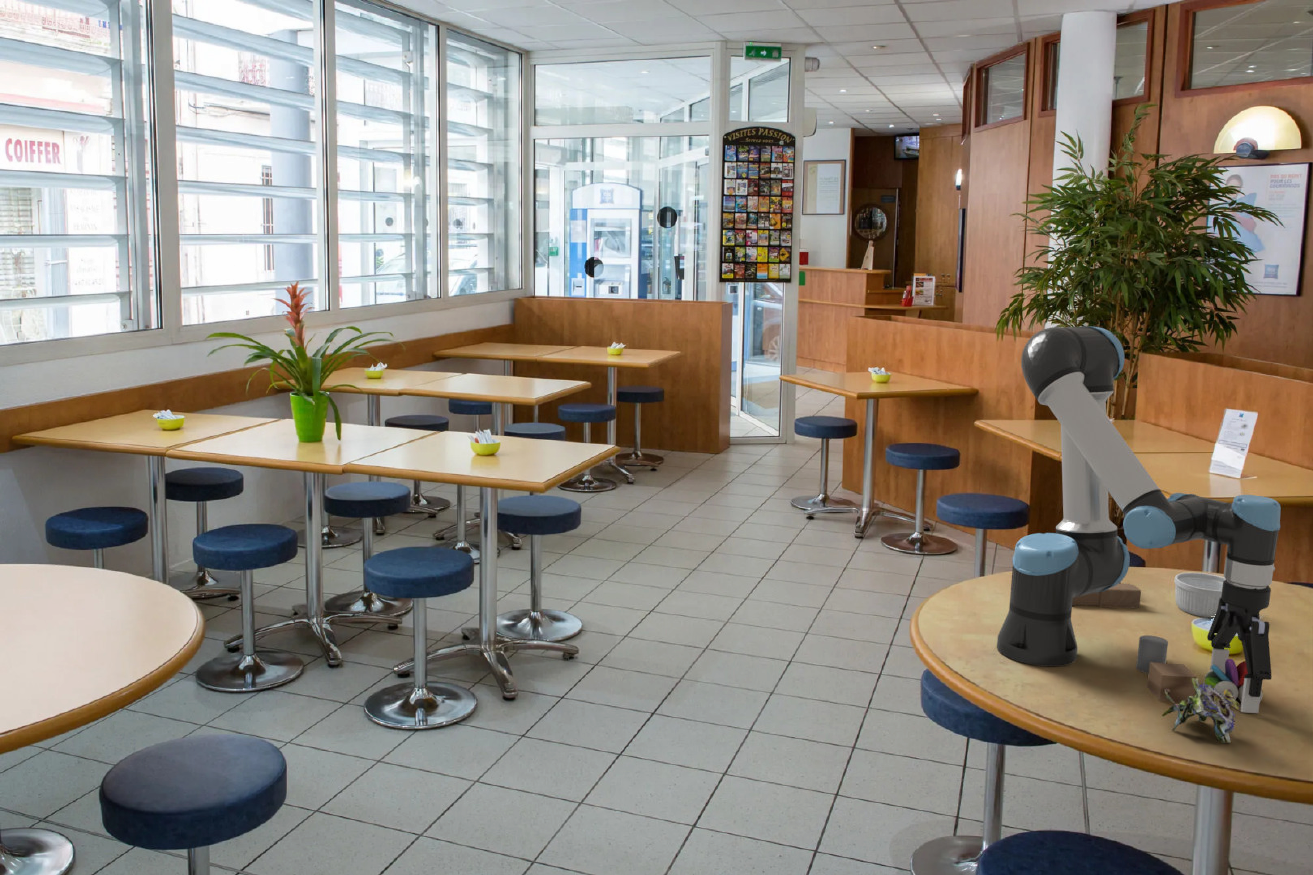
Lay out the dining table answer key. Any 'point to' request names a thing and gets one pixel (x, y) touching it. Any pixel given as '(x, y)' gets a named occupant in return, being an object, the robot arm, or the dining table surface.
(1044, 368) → the robot arm
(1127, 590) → the wooden block set
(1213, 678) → the rainbow cloud toy
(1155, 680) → the walnut block
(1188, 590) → the ramekin
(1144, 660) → the grey cylinder
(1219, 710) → the passion flower
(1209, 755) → the dining table surface
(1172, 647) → the dining table surface
